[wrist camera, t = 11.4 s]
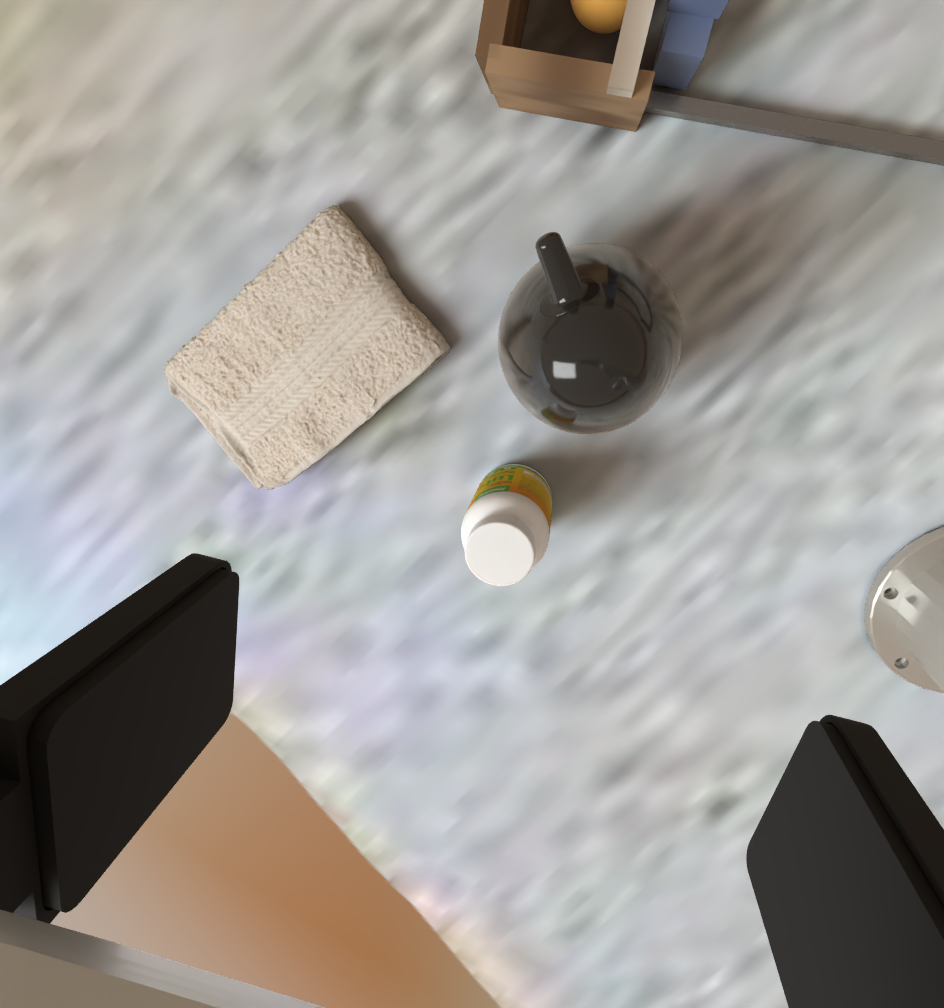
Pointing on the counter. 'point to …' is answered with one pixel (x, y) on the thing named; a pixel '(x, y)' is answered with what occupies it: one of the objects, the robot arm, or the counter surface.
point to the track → (796, 127)
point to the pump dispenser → (589, 336)
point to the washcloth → (304, 353)
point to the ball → (600, 14)
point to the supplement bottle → (507, 524)
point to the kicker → (684, 40)
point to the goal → (565, 70)
